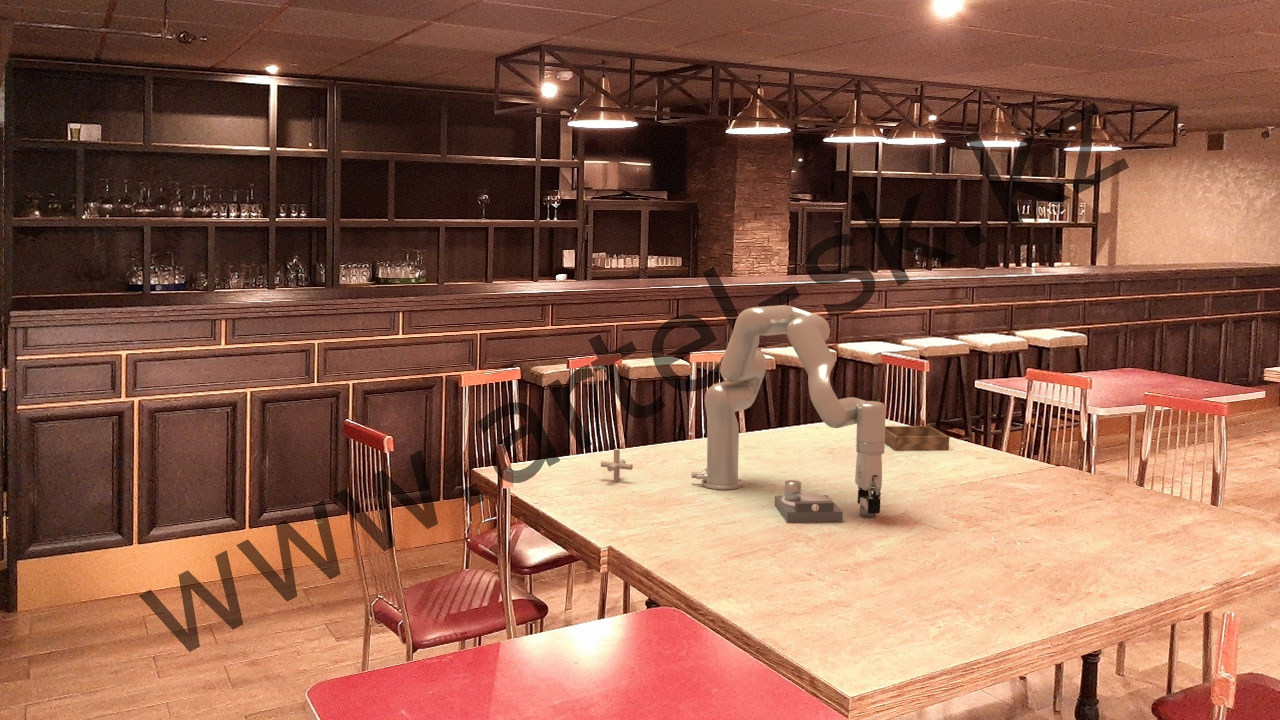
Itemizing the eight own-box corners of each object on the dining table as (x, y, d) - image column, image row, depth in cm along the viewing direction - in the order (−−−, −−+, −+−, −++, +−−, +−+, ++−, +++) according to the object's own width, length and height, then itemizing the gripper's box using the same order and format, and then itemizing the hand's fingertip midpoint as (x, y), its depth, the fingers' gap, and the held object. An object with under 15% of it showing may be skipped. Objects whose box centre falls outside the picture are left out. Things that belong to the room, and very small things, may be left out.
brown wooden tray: (895, 450, 363) (895, 437, 363) (878, 439, 383) (879, 426, 382) (948, 450, 365) (949, 436, 364) (929, 439, 384) (930, 426, 383)
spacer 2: (861, 518, 279) (862, 500, 279) (857, 513, 284) (858, 496, 283) (877, 518, 280) (878, 500, 279) (873, 513, 284) (873, 495, 283)
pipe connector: (595, 483, 315) (595, 451, 314) (608, 476, 324) (608, 445, 323) (625, 486, 311) (625, 454, 310) (637, 479, 320) (637, 447, 319)
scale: (787, 522, 274) (787, 503, 274) (774, 505, 292) (774, 487, 291) (842, 522, 276) (843, 503, 275) (826, 504, 293) (827, 486, 292)
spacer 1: (786, 501, 282) (786, 484, 281) (783, 497, 286) (783, 480, 285) (802, 501, 282) (802, 484, 281) (798, 497, 286) (799, 480, 286)
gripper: (848, 440, 287) (846, 500, 290) (865, 454, 270) (864, 517, 272) (874, 440, 288) (872, 500, 290) (893, 453, 271) (891, 516, 273)
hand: (868, 508), depth 281 cm, fingers open, 9 cm apart
